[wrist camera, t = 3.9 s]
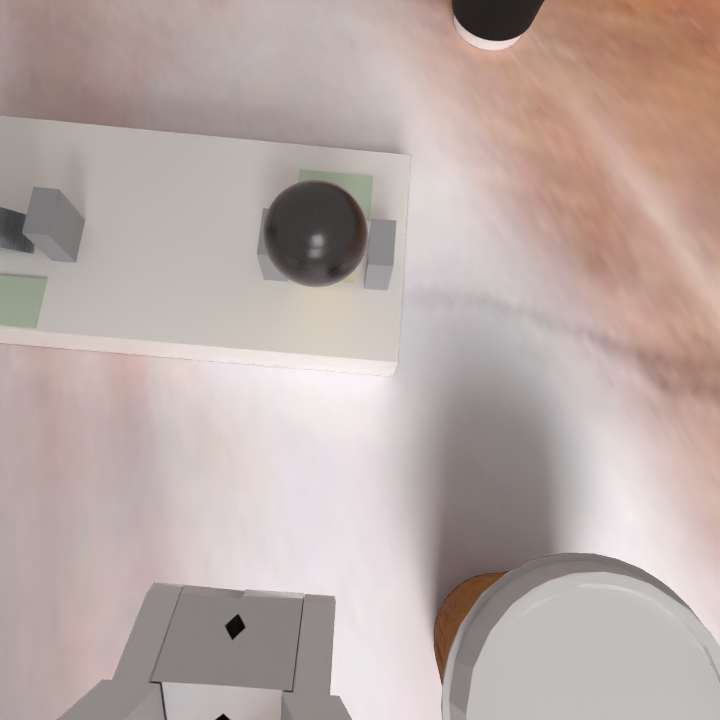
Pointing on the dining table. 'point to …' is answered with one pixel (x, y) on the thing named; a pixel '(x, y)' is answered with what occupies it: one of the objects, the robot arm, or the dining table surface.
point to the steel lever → (13, 232)
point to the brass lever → (315, 233)
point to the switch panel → (191, 248)
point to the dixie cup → (493, 21)
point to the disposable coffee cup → (574, 646)
